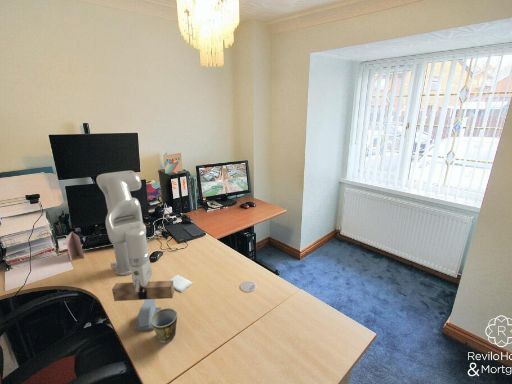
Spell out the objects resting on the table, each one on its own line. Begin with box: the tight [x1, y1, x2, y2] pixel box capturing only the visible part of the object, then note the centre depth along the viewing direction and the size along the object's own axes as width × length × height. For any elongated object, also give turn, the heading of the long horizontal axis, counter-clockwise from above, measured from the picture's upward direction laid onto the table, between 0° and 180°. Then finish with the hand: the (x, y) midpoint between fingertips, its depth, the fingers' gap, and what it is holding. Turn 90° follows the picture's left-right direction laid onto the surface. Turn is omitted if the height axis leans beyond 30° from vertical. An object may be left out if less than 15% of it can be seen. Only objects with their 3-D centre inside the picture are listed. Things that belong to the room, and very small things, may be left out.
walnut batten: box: [111, 280, 175, 302], centre depth 113 cm, size 24×4×6 cm, turn 95°
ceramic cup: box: [151, 307, 178, 344], centre depth 106 cm, size 13×10×10 cm
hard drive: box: [167, 274, 194, 293], centre depth 141 cm, size 2×8×12 cm
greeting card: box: [65, 231, 85, 262], centre depth 164 cm, size 11×7×15 cm, turn 17°
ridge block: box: [133, 299, 162, 332], centre depth 116 cm, size 8×12×7 cm, turn 4°
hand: (144, 294), depth 114 cm, fingers closed on walnut batten, 4 cm apart
